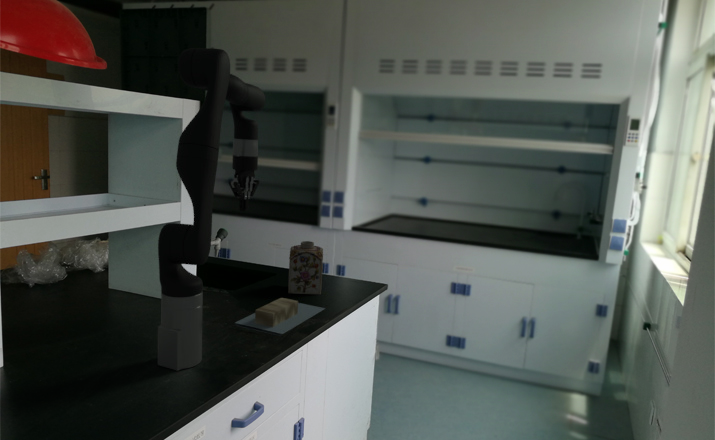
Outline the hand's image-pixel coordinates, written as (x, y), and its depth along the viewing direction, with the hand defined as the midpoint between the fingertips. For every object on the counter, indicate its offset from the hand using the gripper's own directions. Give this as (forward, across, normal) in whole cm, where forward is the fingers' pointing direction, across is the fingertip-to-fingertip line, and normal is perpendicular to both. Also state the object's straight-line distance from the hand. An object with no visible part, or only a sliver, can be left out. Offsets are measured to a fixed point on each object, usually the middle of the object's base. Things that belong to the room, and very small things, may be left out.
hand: (243, 210), depth 160 cm
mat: (+31, +1, +16) cm, 35 cm away
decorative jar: (+31, -27, +8) cm, 42 cm away
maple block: (+28, -3, +16) cm, 33 cm away
